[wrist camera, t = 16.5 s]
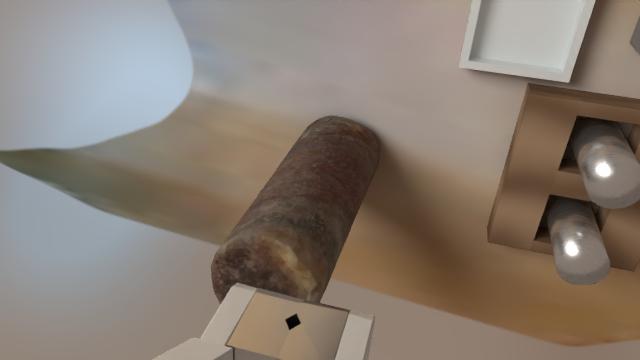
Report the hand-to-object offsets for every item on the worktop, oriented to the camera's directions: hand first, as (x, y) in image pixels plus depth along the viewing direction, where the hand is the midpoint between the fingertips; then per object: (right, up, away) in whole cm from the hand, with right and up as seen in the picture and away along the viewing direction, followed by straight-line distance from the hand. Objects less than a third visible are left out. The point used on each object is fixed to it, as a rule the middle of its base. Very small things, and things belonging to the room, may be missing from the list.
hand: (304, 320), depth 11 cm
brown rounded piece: (+2, +6, +37) cm, 38 cm away
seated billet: (+22, 0, +34) cm, 40 cm away
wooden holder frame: (+22, +3, +32) cm, 39 cm away
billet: (+22, +6, +30) cm, 38 cm away
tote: (+16, +15, +27) cm, 35 cm away
